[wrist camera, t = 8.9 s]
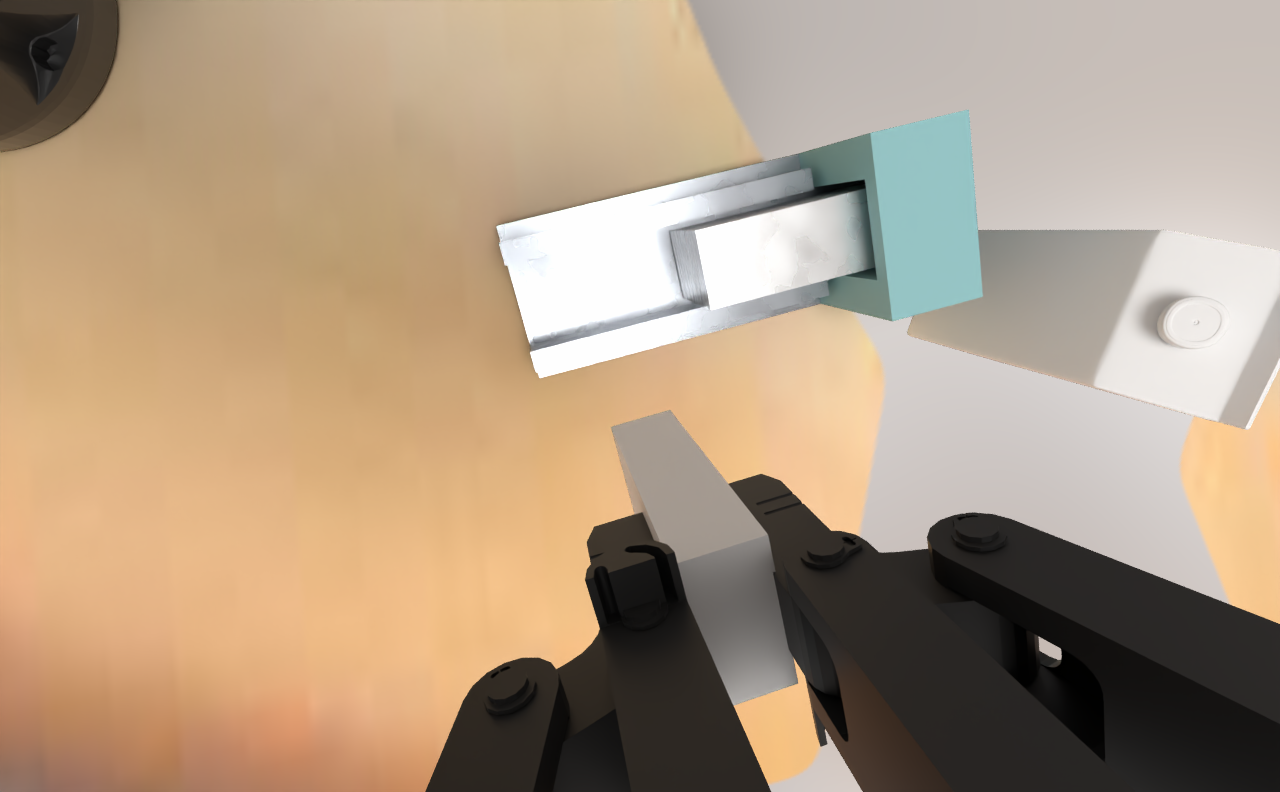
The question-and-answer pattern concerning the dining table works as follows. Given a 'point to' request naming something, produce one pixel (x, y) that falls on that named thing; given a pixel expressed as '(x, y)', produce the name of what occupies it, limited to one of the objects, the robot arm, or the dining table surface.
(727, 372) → the dining table surface
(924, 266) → the socket housing
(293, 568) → the dining table surface
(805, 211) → the sliding block
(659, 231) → the guide channel
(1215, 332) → the milk carton
